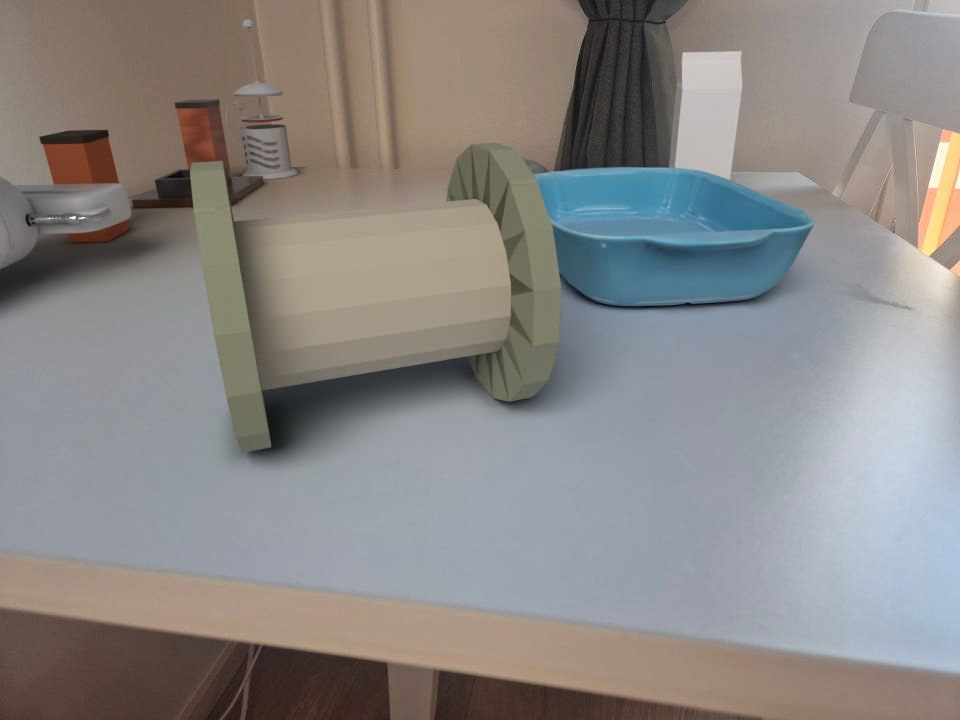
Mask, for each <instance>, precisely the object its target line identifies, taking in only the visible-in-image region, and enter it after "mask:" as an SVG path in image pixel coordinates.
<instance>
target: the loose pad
mask: <svg viewBox="0 0 960 720" xmlns="http://www.w3.org/2000/svg"><path fill="white" fill-rule="evenodd" d="M109 137H110V133H109V129H78V130H77V129H76V130H74V129H73V130H65V131H60V132H55V133H50V134H46V135H40V136H38V138H39V141H40V145H42V147H43V150H44V155H45V157H46V161H47V165H48V168H49V171H50V176H51V179H52V183H53V184H102V183H118V184H120V181H119V176H118V173H117V169H116V164H115V159H114V156H113V152H112V148H111V142H110V138H109ZM130 230H131V227H130V222H129V219H127V220H125V221H123V222H120V223H118V224H115V225H113V226H110V227H107V228H104V229H101V230H97V231H93V232H86V233H68V234H67V236H68V240H69V243H102V242H103V243H104V242H105V243H106V242H109V241H111V240H113V239H116V238H117V237H119V236H121V235H123V234H124V233H127V232H128V231H130Z"/></svg>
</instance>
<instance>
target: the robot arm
mask: <svg viewBox="0 0 960 720" xmlns="http://www.w3.org/2000/svg"><path fill="white" fill-rule="evenodd" d="M131 216H132V207H131V202H130V199H129V195H128V191H127V188H126V187H125V186H124V184H121V183H119V184H118V183H102V184H54V183H53V184H13V183H11V182H10V181H8V180H7V179H6V178H4V177H2V176H0V270H3V269H5V268H6V267H9V266H11V265H13V264H15V263H17V262H19V261H21V260H23V259H25V258H26V257H28V256H29V254H30V253H31V252H32V251H33V250H34V248H35V246H36V244H37V240H38V238H39V237H38V236H39V235H59V234H60V235H61V234H67V235H68V233H86V232H93V231H97V230H101V229H104V228H107V227H110V226H113V225H115V224H118V223H120V222H123V221H125V220H127V219H128V220H129V219H130V218H131Z"/></svg>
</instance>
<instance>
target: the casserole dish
mask: <svg viewBox="0 0 960 720" xmlns="http://www.w3.org/2000/svg"><path fill="white" fill-rule="evenodd" d="M534 176H535V178H536V180H537V183H538V186H539V189H540V192H541V195H542V198H543V201H544V204H545V207H546V210H547V212H548V215H549V218H550V221H551V224H552V227H553V233H554V240H555V247H556V254H557V262H558V269H559V274H561V276H562V277H563V278H564V279H565V280H566V282H568V283H569V285H571V286H572V287H573V288H574V289H576V290H577V291H579V292H580V293H581V294H582V295H584V296H585V297H587V298H589V299H591V300H592V301H595V302H598V303H601V304H604V305H610V306H621V307H646V306H647V307H649V306H674V305H675V306H676V305H683V304H686V303H689V304H709V303H710V304H711V303H726V302H735V301H745V300H751V299H755V298H757V297H760V296H761V295H762V294H764V293H766V292H768V291H769V290H771V289H773V287H775V286H777V285H778V284H779V283H780V282H781V281H782V280H783V279H784V278H785V277H786V275H787V274H788V272H789V271H790V269H792V267H793V265H794V262H795V261H796V259H797V257H798V255H799V253H800V251H801V250H802V248H803V246H804V244H805V242H806V240H807V239H808V237H809V235H810V233H811V231H812V230H813V228H814V226H815V220H814V218H813V216H812V215H810V214H809V213H807V212H806V211H804V210H802V209H799V208H797V207H795V206H793V205H791V204H788V203H786V202H783V201H782V200H779V199H777V198H774V197H771V196H769V195H766V194H764V193H762V192H760V191H757V190H755V189H752V188H750V187H747V186H745V185H742V184H739V183H737V182H735V181H733V180H731V179H730V180H728V179H725V178H723V177H720V176H718V175H714V174H711V173H708V172H704V171H699V170H692V169H683V168H669V167H646V166H645V167H643V166H642V167H639V166H615V167H614V166H613V167H591V168H575V169H573V168H572V169H567V170H566V169H565V170H559V171H549V172H547V173H540V174H534Z"/></svg>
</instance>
